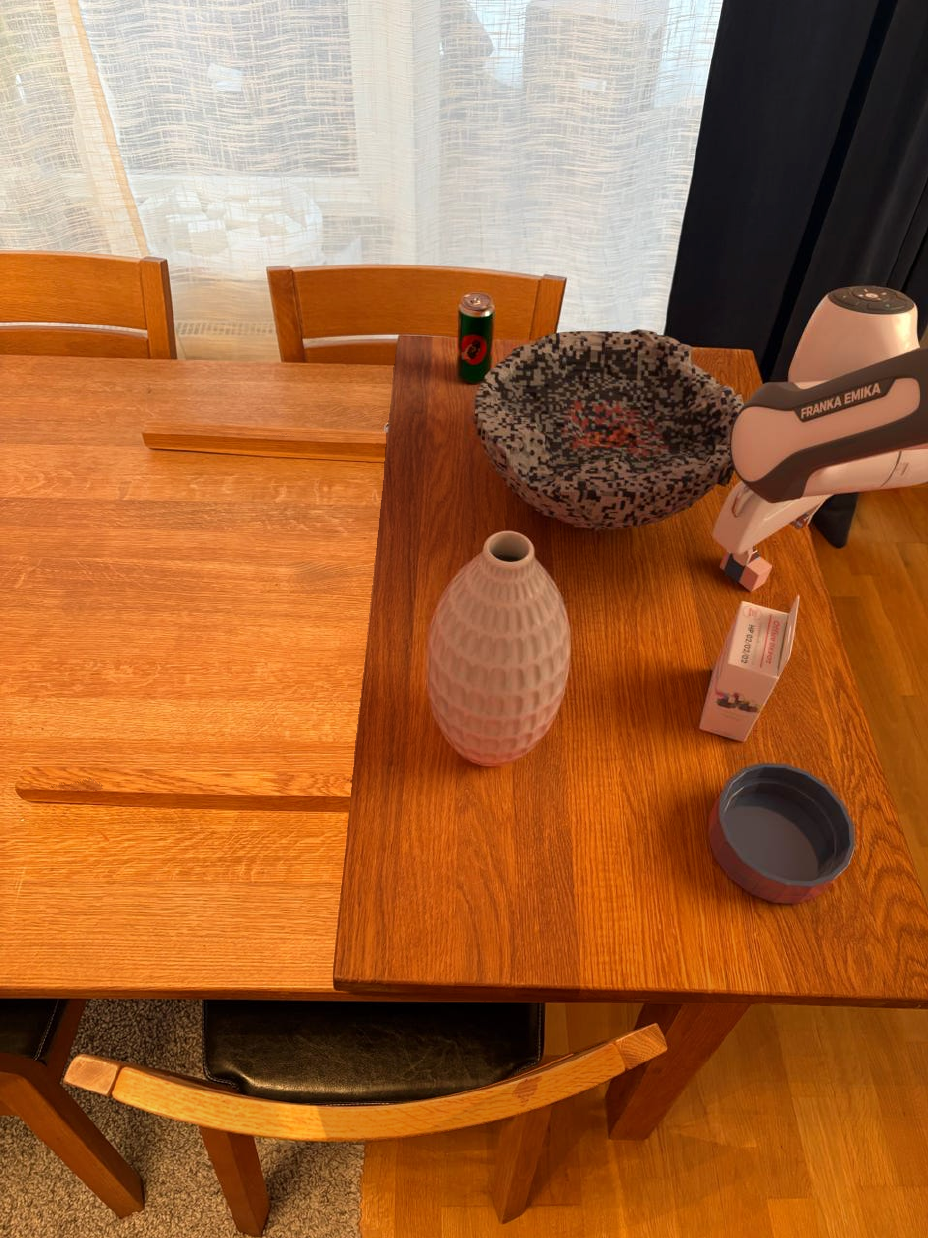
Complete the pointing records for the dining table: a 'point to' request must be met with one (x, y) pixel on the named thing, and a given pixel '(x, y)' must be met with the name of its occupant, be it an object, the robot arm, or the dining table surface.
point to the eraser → (746, 571)
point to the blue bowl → (780, 833)
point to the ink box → (747, 669)
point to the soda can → (475, 337)
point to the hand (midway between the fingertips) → (770, 541)
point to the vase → (498, 653)
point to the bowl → (606, 427)
